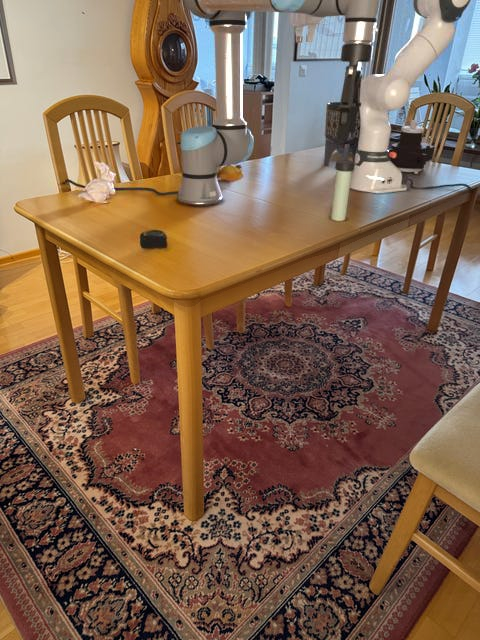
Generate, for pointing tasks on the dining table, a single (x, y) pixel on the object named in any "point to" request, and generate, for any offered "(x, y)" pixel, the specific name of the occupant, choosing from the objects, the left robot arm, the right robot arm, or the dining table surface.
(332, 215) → the pale green cylinder
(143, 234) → the tape measure
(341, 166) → the lid
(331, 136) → the planter
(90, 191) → the figurine
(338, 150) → the rock
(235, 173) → the toy
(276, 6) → the left robot arm
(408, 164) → the mechanical component
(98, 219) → the dining table surface
